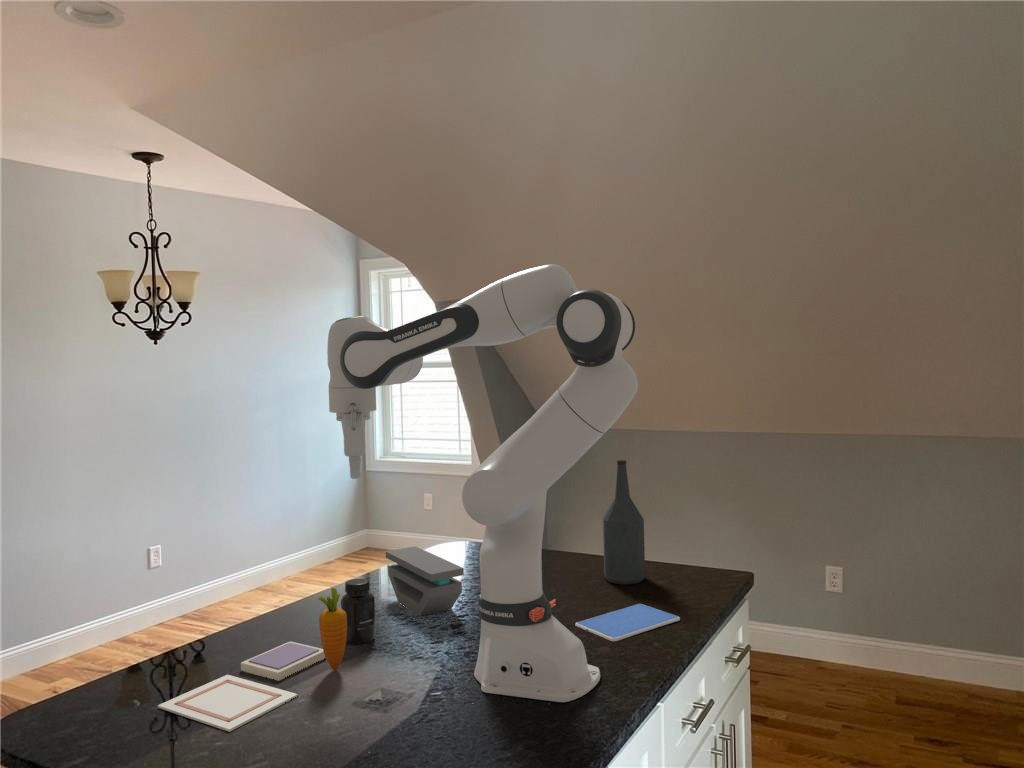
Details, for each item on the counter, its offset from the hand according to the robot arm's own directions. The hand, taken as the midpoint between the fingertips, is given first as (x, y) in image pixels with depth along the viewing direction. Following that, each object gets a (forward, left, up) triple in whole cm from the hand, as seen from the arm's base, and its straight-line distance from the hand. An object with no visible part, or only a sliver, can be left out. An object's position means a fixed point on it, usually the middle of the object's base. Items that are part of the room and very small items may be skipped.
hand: (355, 474), depth 148 cm
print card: (+6, +26, -35) cm, 44 cm away
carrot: (-1, +8, -35) cm, 36 cm away
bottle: (-26, -68, -35) cm, 81 cm away
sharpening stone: (+7, -29, -35) cm, 46 cm away
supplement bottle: (+6, -6, -35) cm, 36 cm away
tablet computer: (-39, -39, -36) cm, 66 cm away
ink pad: (+10, +10, -35) cm, 38 cm away
